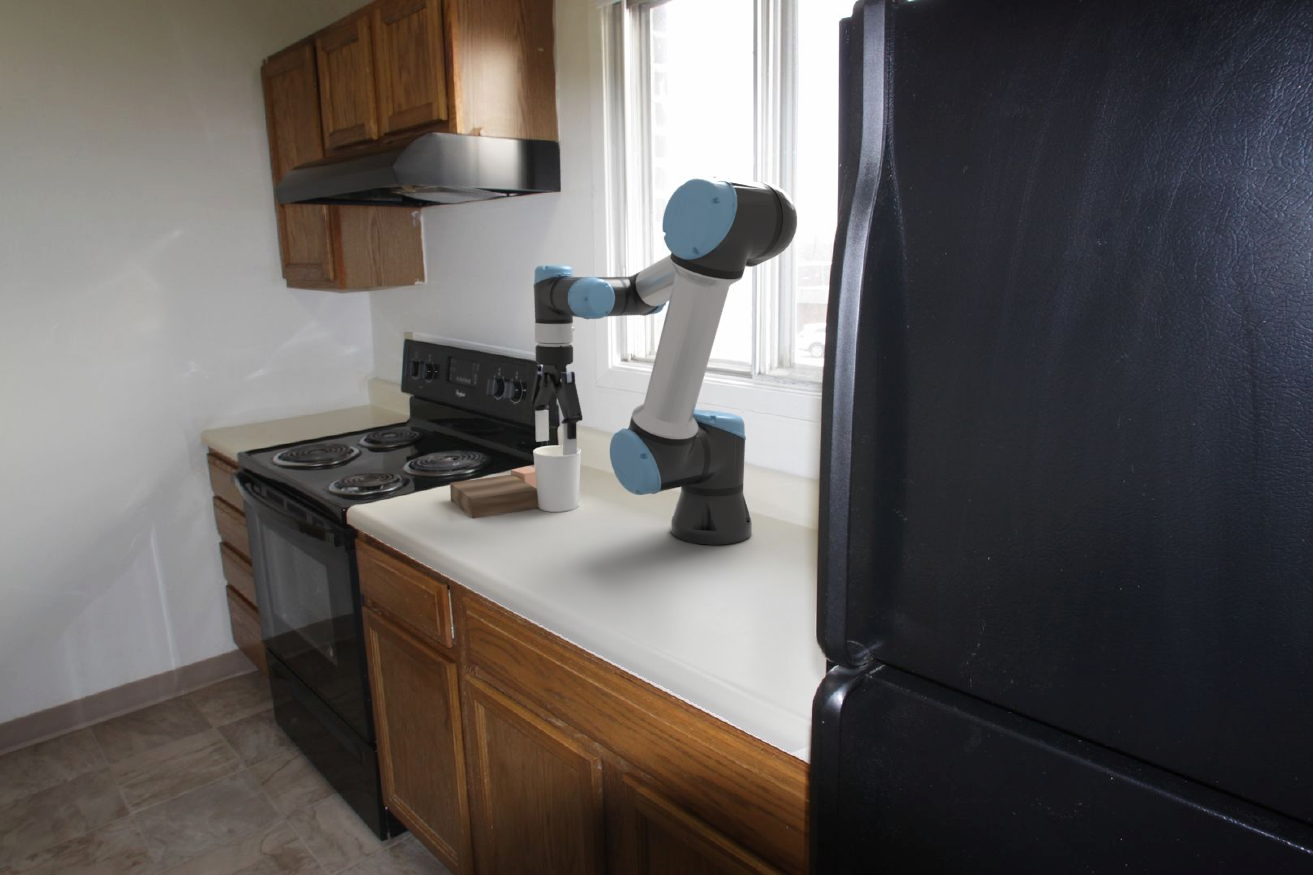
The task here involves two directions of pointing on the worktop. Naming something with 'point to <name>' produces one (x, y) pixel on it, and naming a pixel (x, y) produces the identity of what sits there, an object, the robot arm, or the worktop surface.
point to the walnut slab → (493, 495)
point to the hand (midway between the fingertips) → (555, 447)
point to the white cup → (557, 478)
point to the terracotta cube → (526, 475)
